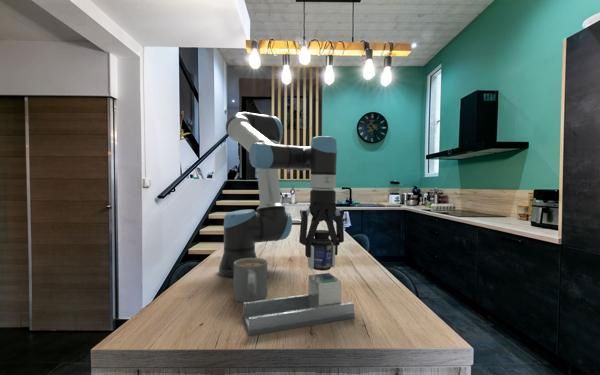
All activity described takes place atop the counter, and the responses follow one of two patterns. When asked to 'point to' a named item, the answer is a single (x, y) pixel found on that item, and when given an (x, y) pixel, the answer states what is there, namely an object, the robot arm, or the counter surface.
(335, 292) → the rail
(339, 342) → the counter surface
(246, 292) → the coffee mug
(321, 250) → the pill bottle
